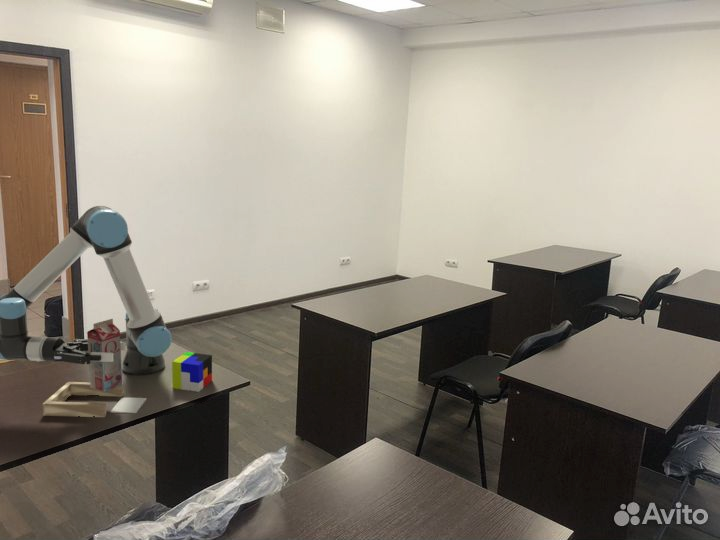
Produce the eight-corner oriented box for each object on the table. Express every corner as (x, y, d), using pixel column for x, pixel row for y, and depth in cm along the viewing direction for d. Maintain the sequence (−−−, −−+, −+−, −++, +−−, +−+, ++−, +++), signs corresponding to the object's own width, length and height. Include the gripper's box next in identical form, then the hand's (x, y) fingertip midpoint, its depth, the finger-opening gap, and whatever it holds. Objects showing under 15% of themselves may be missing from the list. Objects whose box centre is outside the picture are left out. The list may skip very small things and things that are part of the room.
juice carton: (122, 385, 175) (119, 320, 170) (104, 392, 169) (100, 325, 165) (108, 380, 178) (105, 316, 173) (90, 387, 172) (86, 321, 168)
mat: (122, 398, 181) (122, 397, 181) (146, 399, 181) (146, 398, 181) (110, 412, 171) (110, 411, 171) (135, 413, 172) (135, 412, 171)
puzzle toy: (198, 392, 189) (198, 365, 187) (172, 388, 191) (172, 361, 189) (212, 380, 199) (211, 355, 196) (187, 377, 200) (186, 351, 198)
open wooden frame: (68, 392, 183) (67, 381, 182) (124, 394, 184) (123, 383, 183) (43, 415, 167) (42, 403, 166) (104, 417, 168) (103, 405, 167)
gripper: (64, 348, 182) (132, 350, 183) (28, 374, 160) (105, 376, 161) (63, 326, 180) (131, 329, 181) (26, 350, 159) (104, 353, 160)
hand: (119, 351), depth 171 cm, fingers closed on juice carton, 9 cm apart
